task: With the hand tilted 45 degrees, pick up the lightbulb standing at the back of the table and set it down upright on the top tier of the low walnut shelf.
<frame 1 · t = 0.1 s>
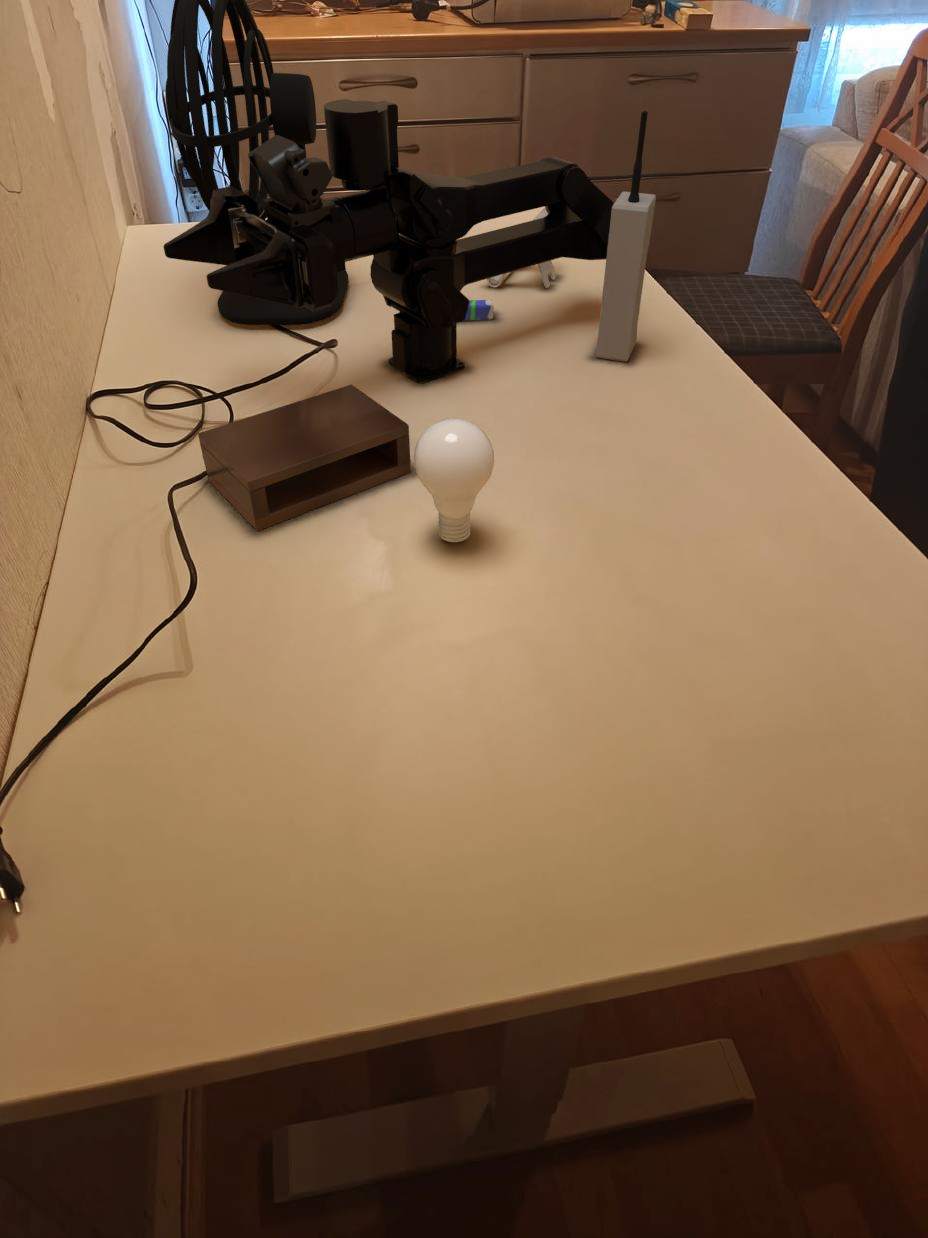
hand: (185, 265, 76), 17 cm above the table, tool horizontal, fingers open, 9 cm apart
tablet stand: (524, 280, 119), on the table
vintage mobile phone: (615, 353, 102), on the table
lightbulb: (454, 541, 74), on the table
shelf: (310, 476, 81), on the table
eraser: (468, 319, 109), on the table
desk fan: (279, 299, 114), on the table
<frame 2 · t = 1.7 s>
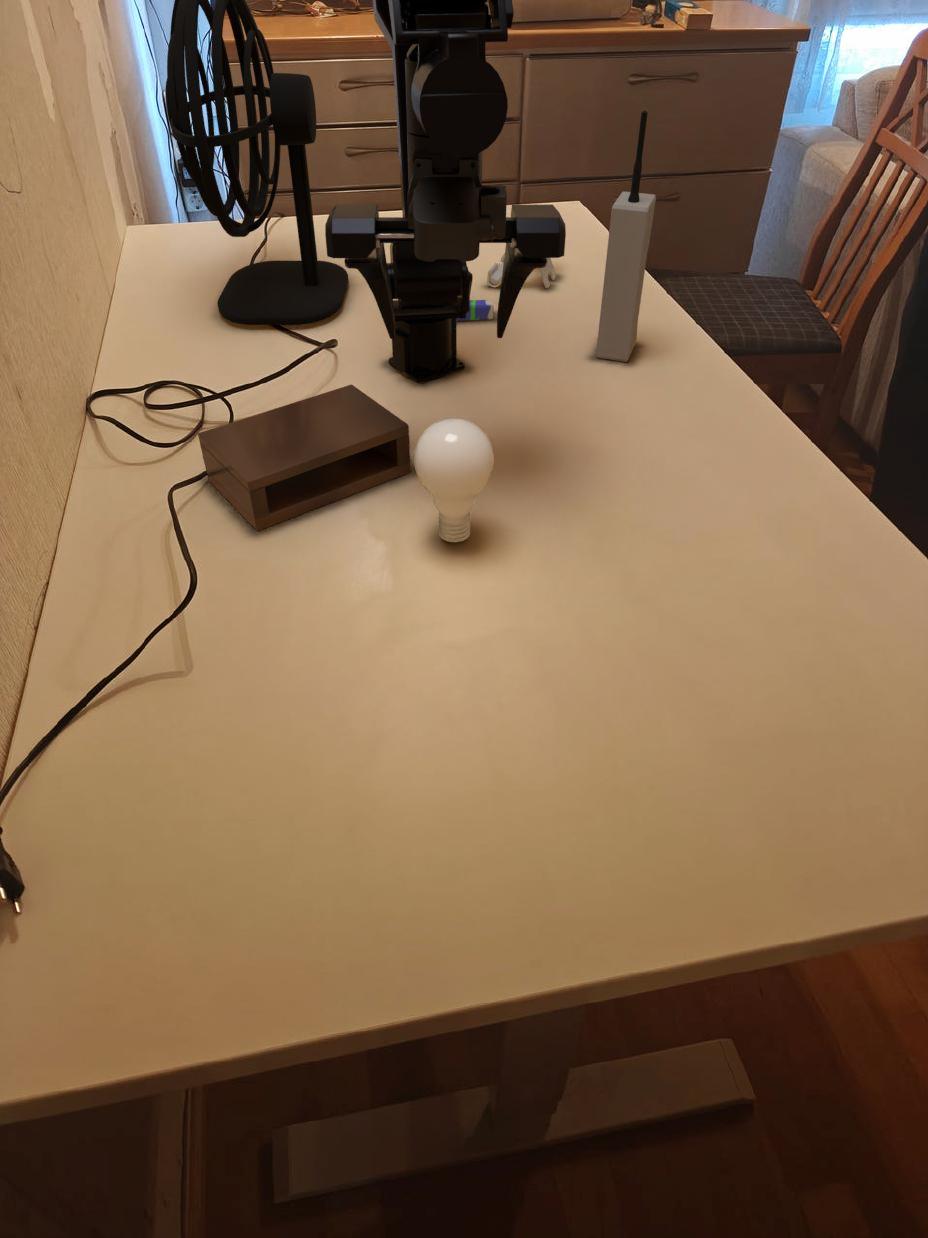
hand: (446, 336, 75), 13 cm above the table, tool pointing down, fingers open, 9 cm apart
nothing on the table moved.
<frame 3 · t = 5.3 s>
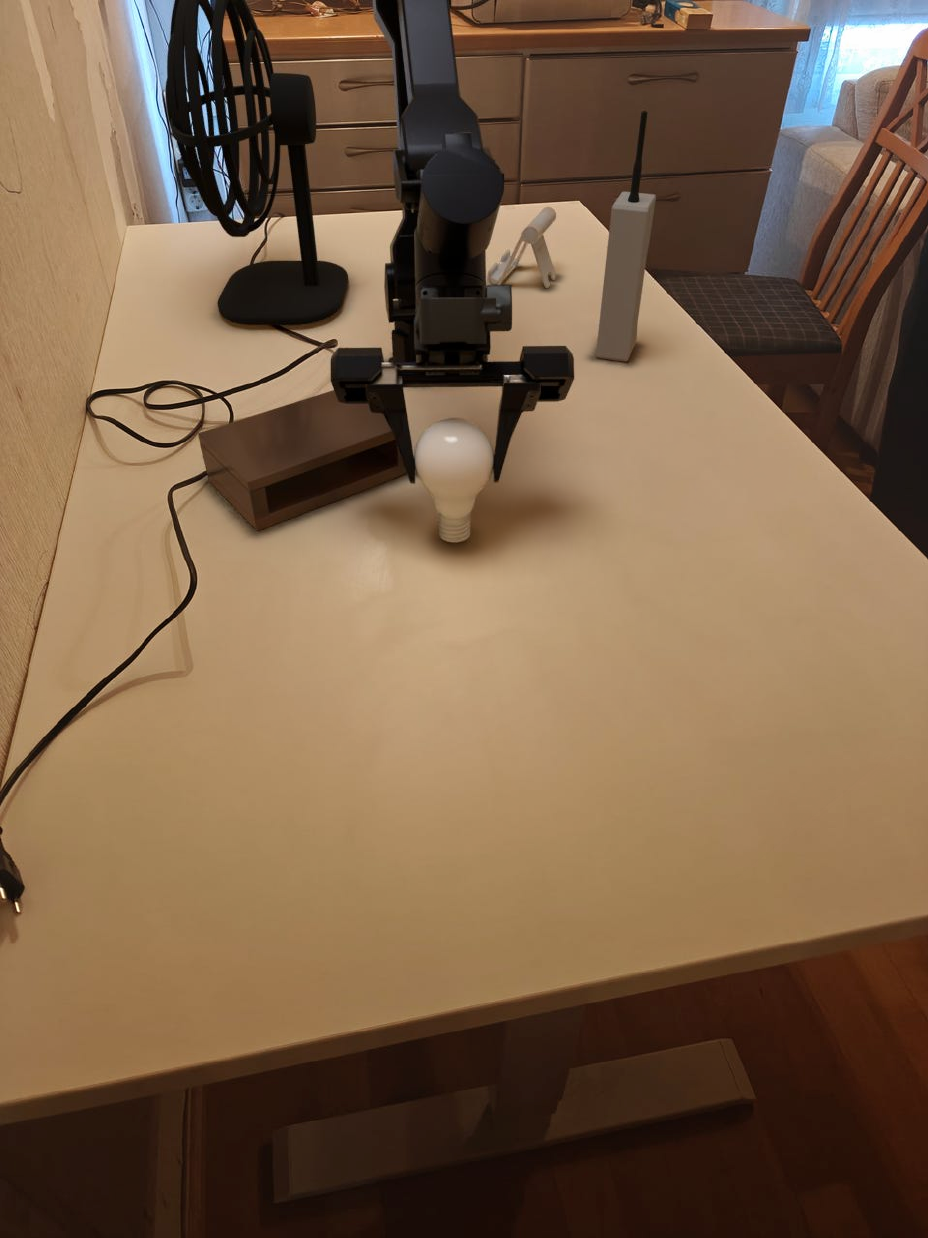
hand: (454, 482, 69), 7 cm above the table, tool tilted 45°, fingers closed on lightbulb, 6 cm apart
lightbulb: (454, 541, 74), on the table, touching gripper
everything else where it was.
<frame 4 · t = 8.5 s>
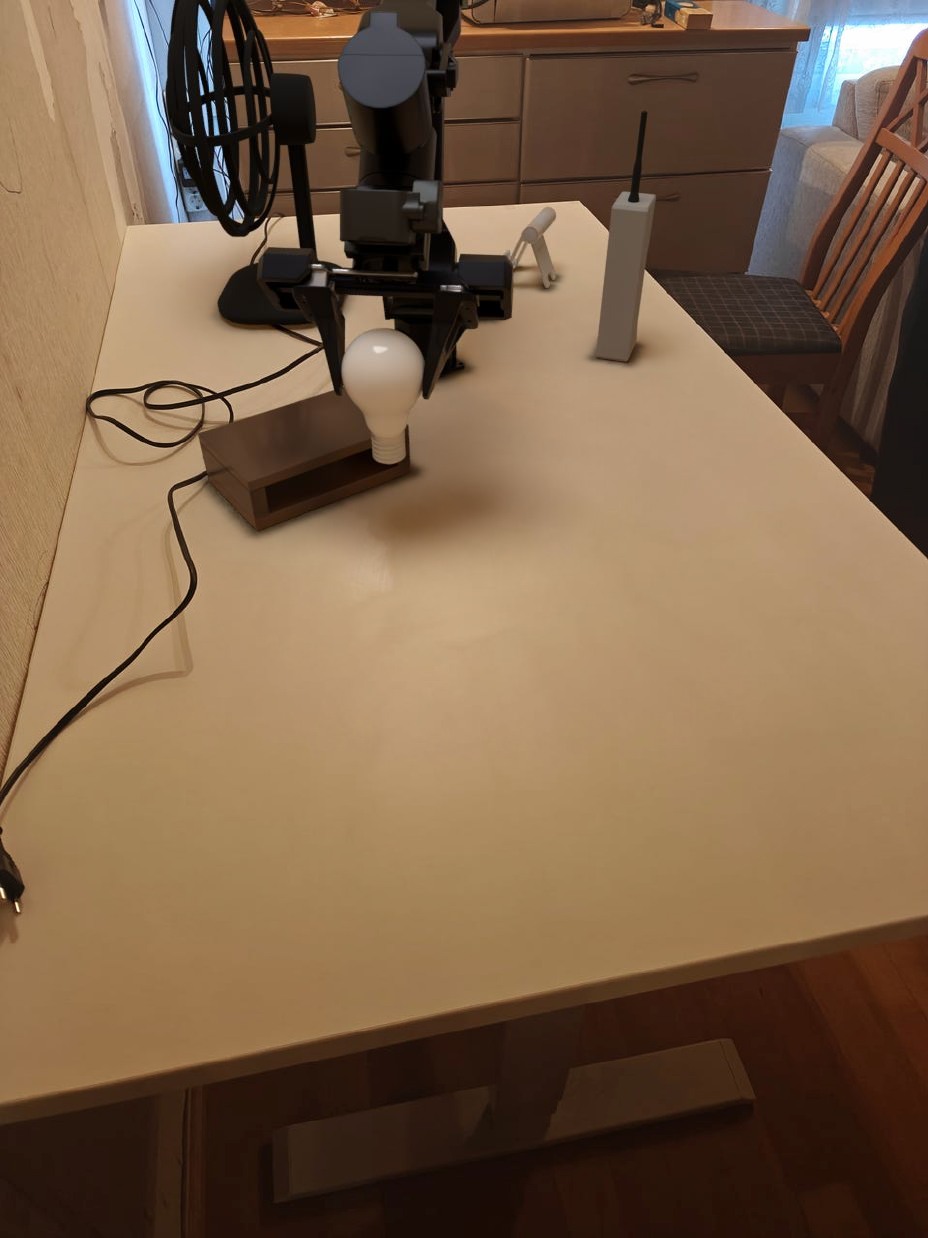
hand: (381, 395, 65), 13 cm above the table, tool tilted 45°, fingers closed on lightbulb, 6 cm apart
lightbulb: (389, 463, 71), point 6 cm above the table, touching gripper
everything else where it was.
when the fingers open (12 cm above the table, at t = 11.7 s): lightbulb stays where it is, resting on shelf.
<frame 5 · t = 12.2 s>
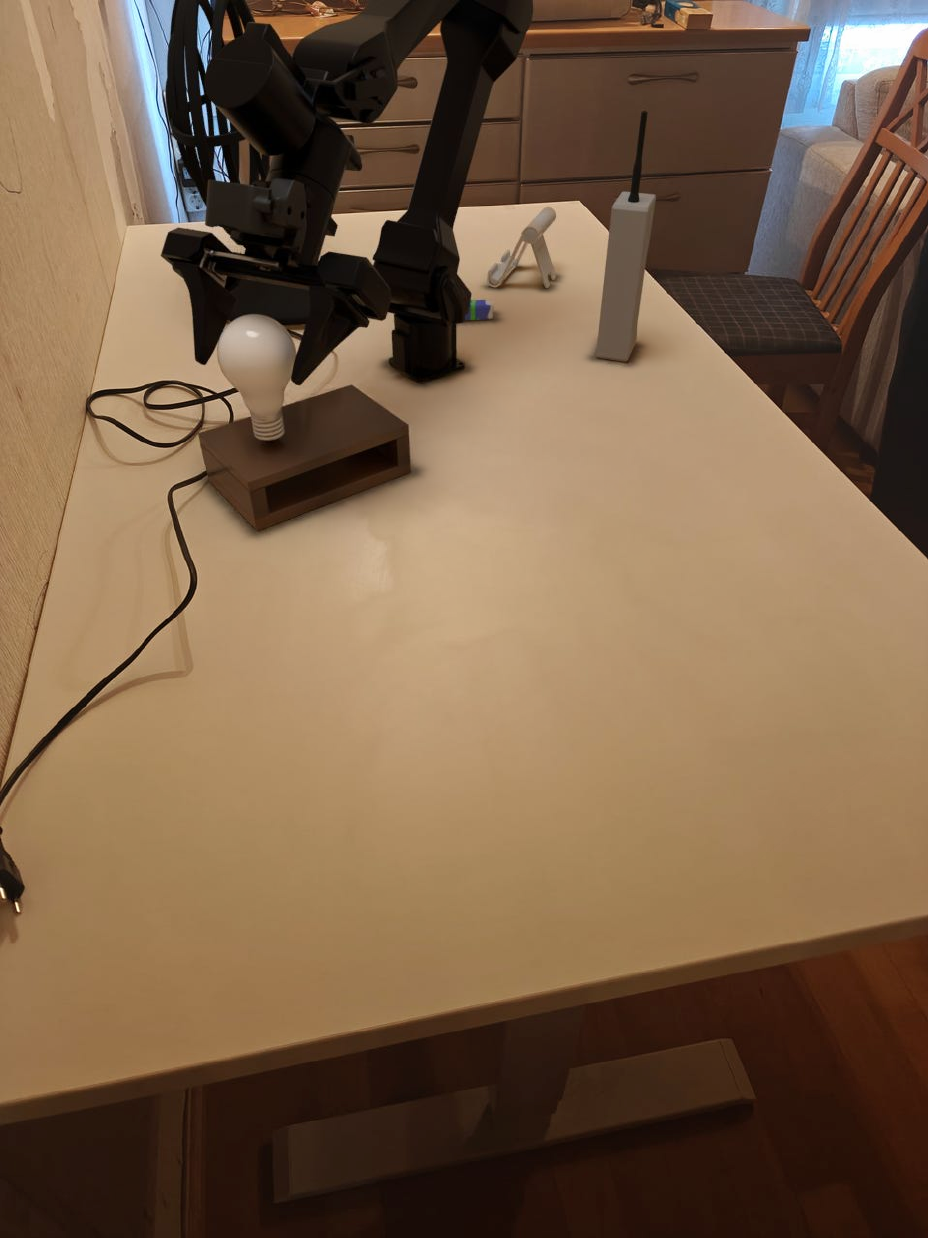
hand: (246, 372, 71), 12 cm above the table, tool tilted 45°, fingers open, 9 cm apart
lightbulb: (270, 441, 77), point 5 cm above the table, touching shelf
everything else where it was.
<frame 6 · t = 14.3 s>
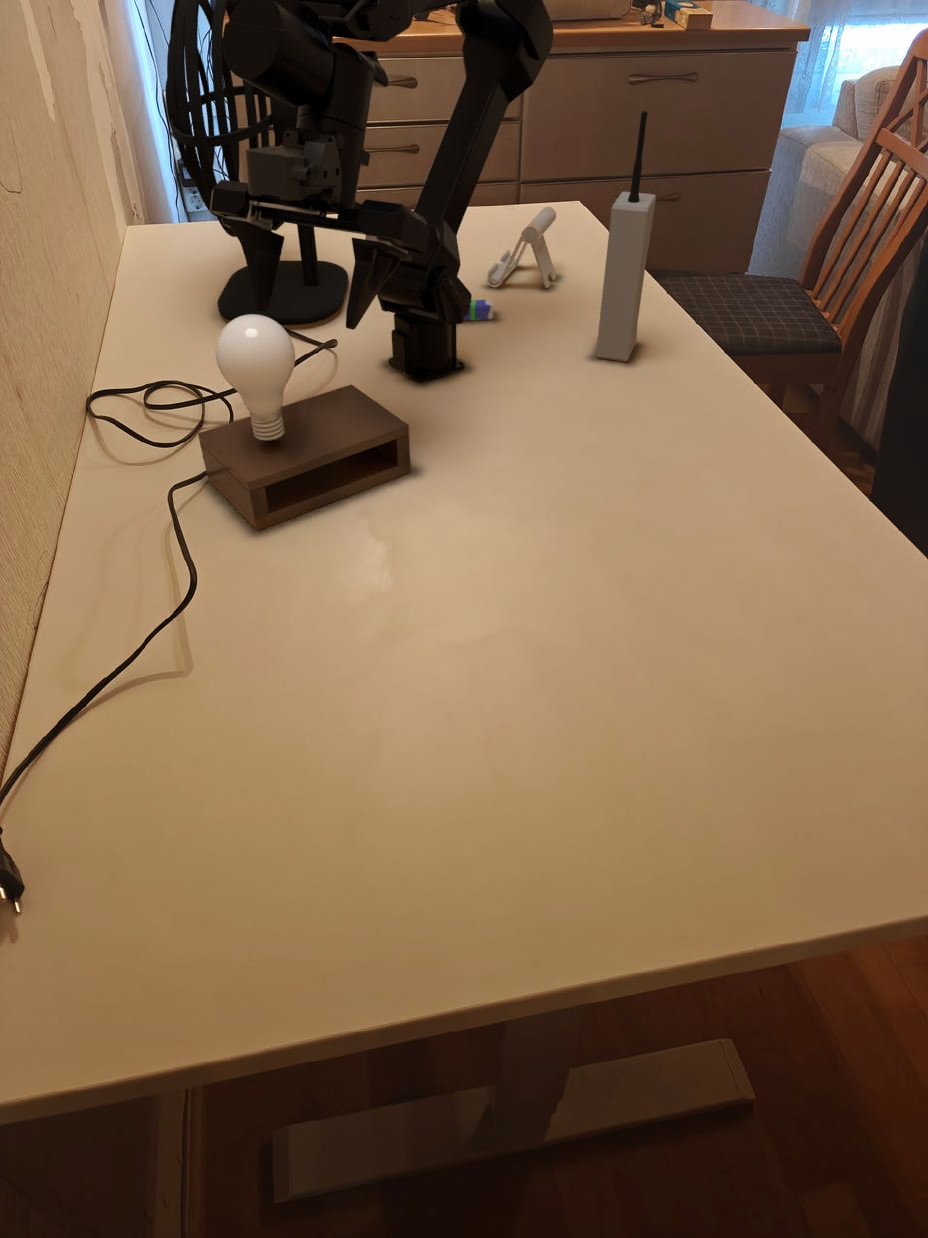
hand: (304, 320, 77), 13 cm above the table, tool tilted 30°, fingers open, 9 cm apart
nothing on the table moved.
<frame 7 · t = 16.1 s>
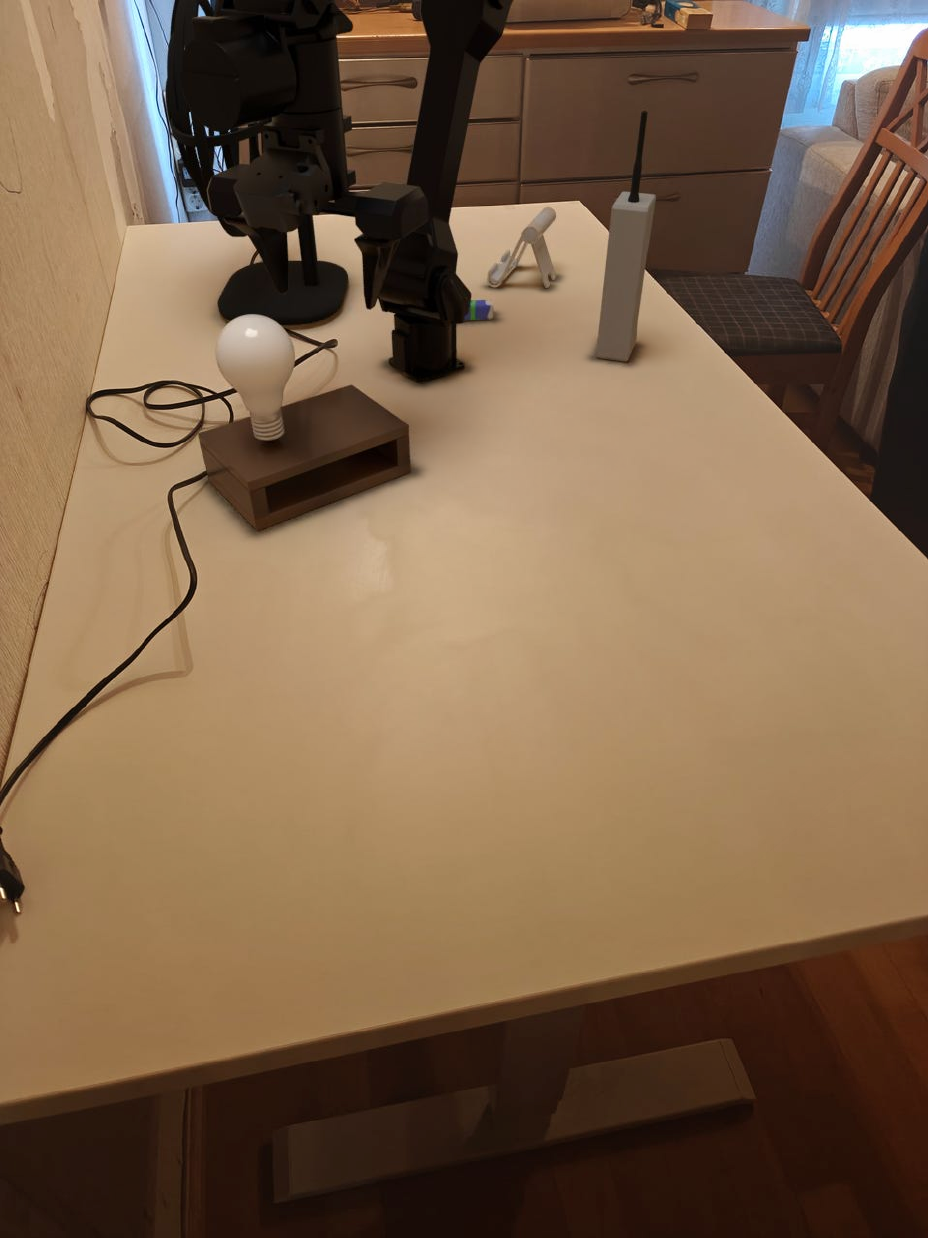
hand: (326, 299, 80), 13 cm above the table, tool pointing down, fingers open, 9 cm apart
nothing on the table moved.
at the end: lightbulb inside the target area on the shelf (3.3 cm from its centre), point 4.8 cm above the shelf's base; lightbulb tilted 1°; the gripper is holding nothing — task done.
